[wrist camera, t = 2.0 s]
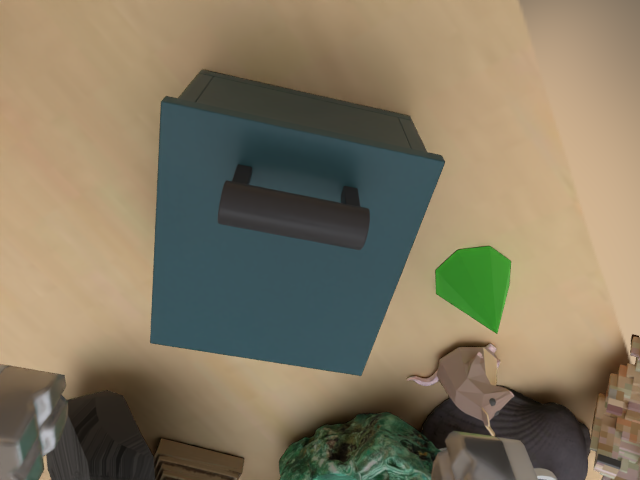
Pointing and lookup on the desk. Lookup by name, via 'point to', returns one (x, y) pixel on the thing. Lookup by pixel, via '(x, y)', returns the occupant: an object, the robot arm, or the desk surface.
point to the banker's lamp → (194, 463)
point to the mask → (100, 442)
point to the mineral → (361, 452)
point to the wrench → (544, 474)
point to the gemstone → (476, 283)
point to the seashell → (523, 432)
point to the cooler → (303, 109)
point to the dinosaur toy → (619, 423)
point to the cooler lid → (280, 236)
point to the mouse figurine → (471, 382)
